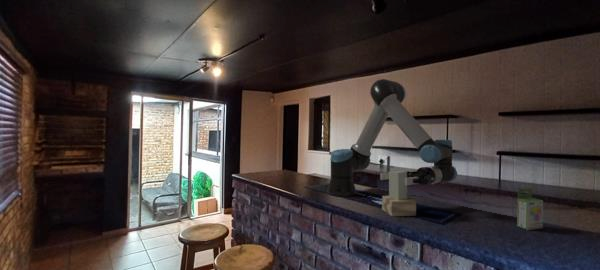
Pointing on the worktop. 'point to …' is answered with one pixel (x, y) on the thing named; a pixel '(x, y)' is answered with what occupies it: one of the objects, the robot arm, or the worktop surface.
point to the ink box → (529, 211)
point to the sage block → (397, 185)
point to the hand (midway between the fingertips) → (392, 179)
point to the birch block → (399, 206)
